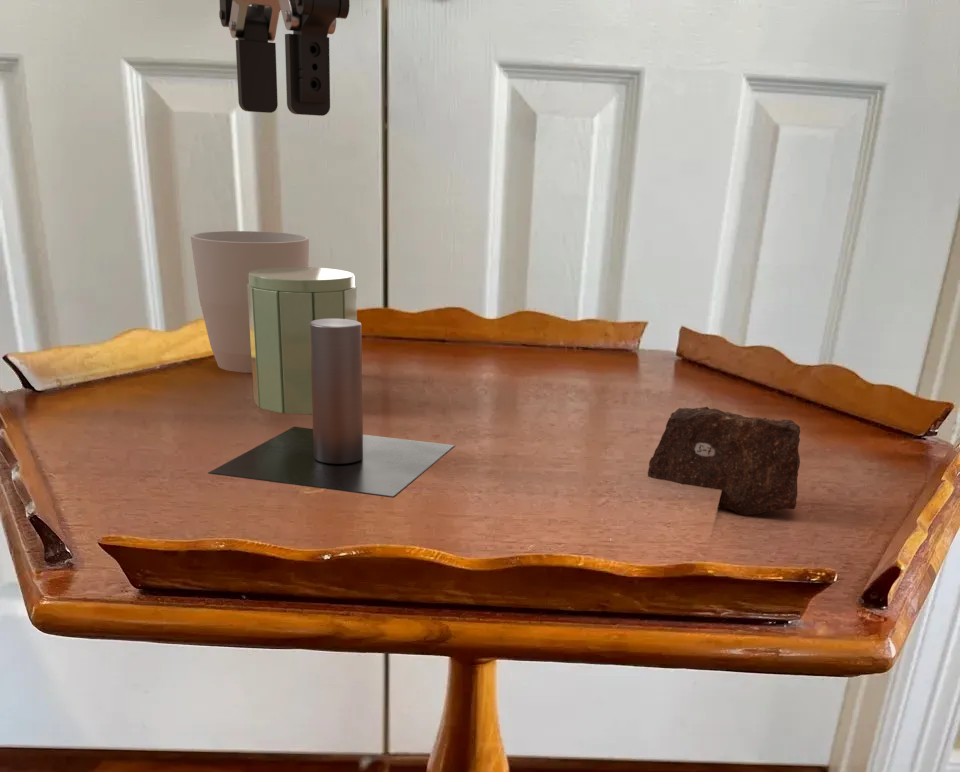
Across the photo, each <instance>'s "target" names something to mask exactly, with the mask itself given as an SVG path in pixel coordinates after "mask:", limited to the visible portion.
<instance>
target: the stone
mask: <svg viewBox="0 0 960 772" xmlns="http://www.w3.org/2000/svg"><path fill="white" fill-rule="evenodd" d="M800 434H801V428H800V425H798V424H797V423H796V422H795V421H793V420H791V419H780V420H777V419H769V418H767V417H764V418H763V417H762V418H761V417H758V416H751V417H749V416H744V415H742V414H737V413H733V412H729V411H723V410H720V409H717V408H709V407H708V406H703V407H695V408H691V407H690V408H689V407H684V408H682V407H679V408H678V409H676V410H675V411H674V412H671V414H670V417H669V418H668V420H667V422H666V425H665V429H664V432H663V433H662V435H661V437H660V440H659V443H658V445H657V447H655V449H654V452H653V455H652V457H650V460H649V461H648V470H647V477H649V478H652V479H656V480H661V481H669V482H673V483H677V484H680V485H687V486H692V487H700V488H705V489H706V488H707V489H714V490H720V491H721V492H720V495H719V496H720V497H719V501H718V505H717V507H718V508H722V509H727V510H732V511H734V512H735V513H736V514H738V515H743V516H749V515H758V514H762V513H767V512H769V511H773V510H774V511H778V510H780V511H781V510H795V509H796V507H797V499H798V477H799V469H800V464H801V458H800V457H801V456H800V454H799V445H800V442H801V438H800Z"/></svg>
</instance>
